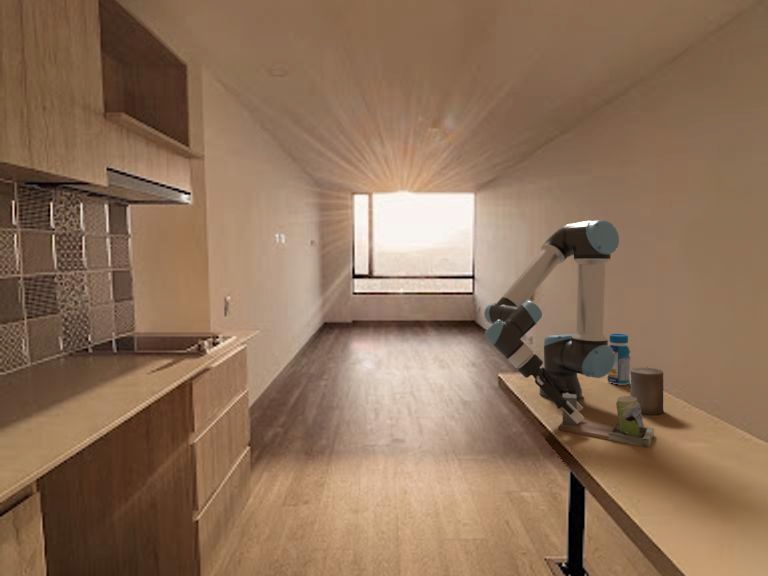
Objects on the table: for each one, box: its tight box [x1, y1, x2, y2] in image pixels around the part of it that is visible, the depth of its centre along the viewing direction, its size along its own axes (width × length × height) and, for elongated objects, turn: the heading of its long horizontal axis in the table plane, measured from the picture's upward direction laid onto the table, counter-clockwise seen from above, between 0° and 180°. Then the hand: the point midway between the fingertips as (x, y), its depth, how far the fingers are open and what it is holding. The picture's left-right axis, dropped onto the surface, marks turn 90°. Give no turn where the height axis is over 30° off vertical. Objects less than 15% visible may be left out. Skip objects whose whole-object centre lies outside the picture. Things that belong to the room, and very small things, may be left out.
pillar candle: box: [630, 366, 665, 416], centre depth 154 cm, size 10×10×15 cm
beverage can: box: [615, 395, 645, 438], centre depth 131 cm, size 6×7×12 cm
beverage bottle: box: [607, 333, 631, 386], centre depth 188 cm, size 8×8×20 cm
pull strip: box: [557, 394, 654, 448], centre depth 136 cm, size 10×24×10 cm, turn 53°
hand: (580, 415), depth 141 cm, fingers open, 9 cm apart
